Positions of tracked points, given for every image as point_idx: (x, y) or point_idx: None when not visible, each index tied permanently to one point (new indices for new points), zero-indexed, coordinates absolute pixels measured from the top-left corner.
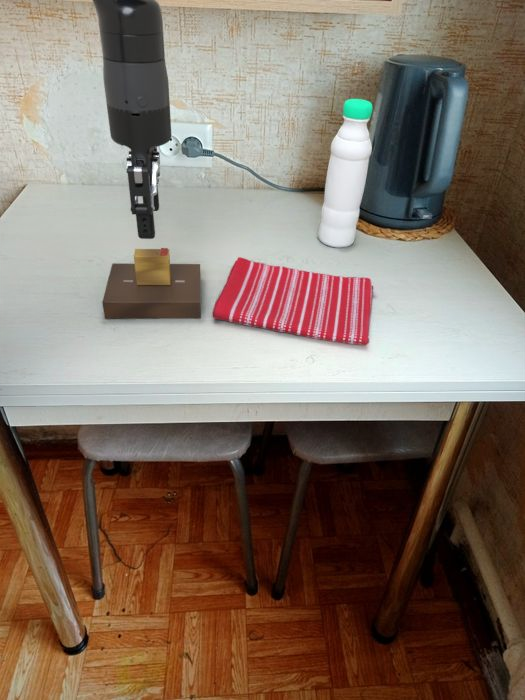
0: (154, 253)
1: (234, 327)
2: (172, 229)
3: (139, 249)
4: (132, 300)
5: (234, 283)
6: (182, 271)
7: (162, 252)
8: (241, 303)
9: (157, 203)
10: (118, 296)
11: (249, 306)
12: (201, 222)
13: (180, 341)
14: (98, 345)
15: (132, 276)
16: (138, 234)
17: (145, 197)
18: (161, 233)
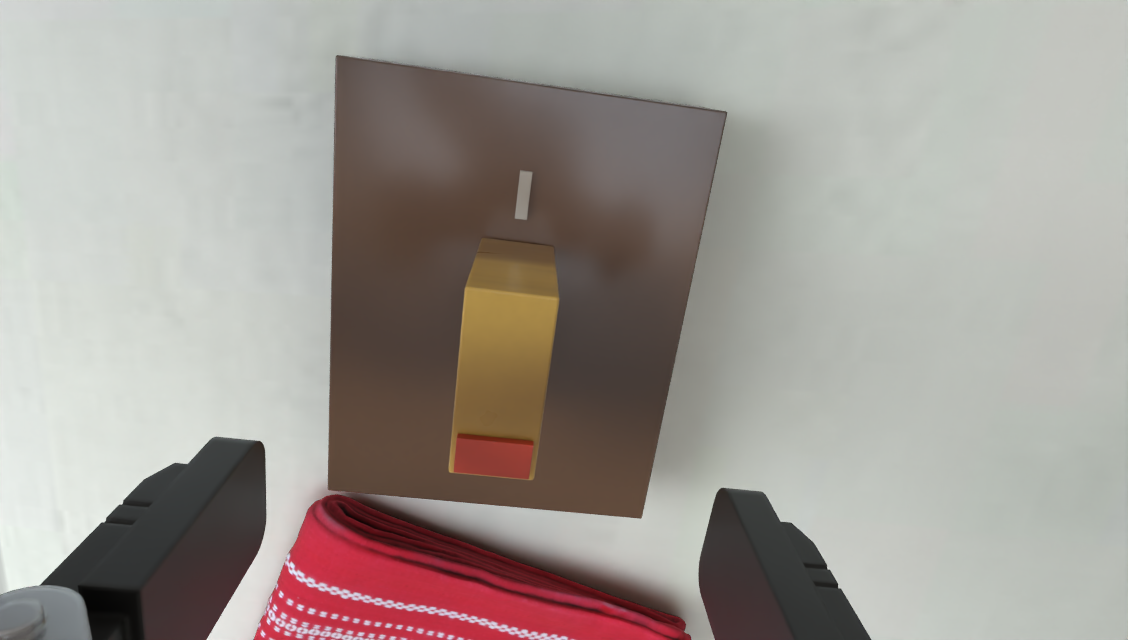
0: (488, 403)
1: (291, 545)
2: (1107, 396)
3: (545, 323)
4: (347, 211)
5: (502, 607)
6: (587, 443)
7: (478, 450)
8: (364, 610)
9: (712, 618)
10: (383, 142)
11: (347, 630)
12: (1123, 521)
13: (201, 362)
14: (160, 28)
15: (573, 216)
16: (205, 448)
17: (752, 577)
18: (1087, 345)
